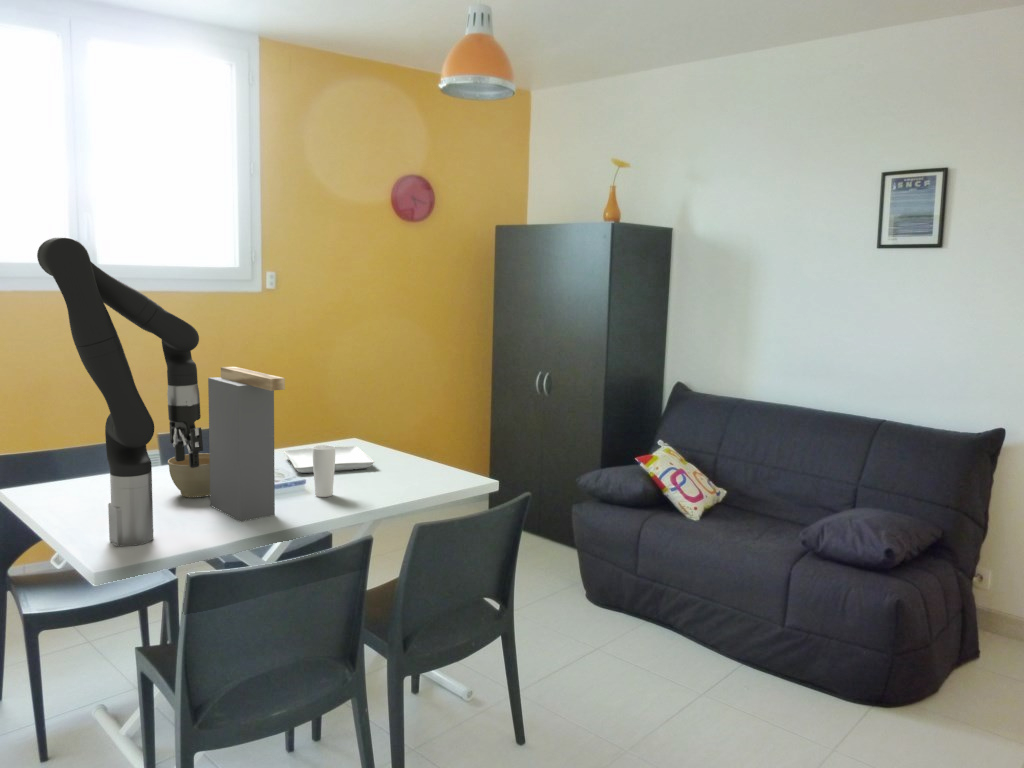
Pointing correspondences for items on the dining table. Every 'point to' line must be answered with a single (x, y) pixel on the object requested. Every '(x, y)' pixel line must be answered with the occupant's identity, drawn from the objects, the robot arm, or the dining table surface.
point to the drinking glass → (323, 469)
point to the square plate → (343, 459)
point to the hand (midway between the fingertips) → (187, 464)
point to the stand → (241, 449)
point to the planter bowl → (191, 476)
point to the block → (253, 378)
